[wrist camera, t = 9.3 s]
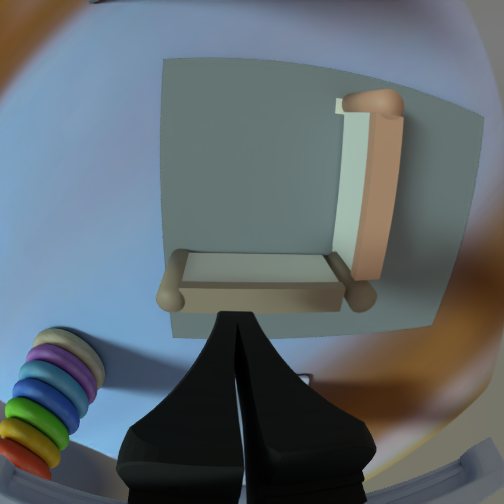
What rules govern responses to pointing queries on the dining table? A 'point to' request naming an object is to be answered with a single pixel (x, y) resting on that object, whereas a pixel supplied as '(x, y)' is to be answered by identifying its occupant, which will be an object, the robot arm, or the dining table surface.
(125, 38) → the dining table surface
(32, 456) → the stacking toy
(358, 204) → the hinged fence panel
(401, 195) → the mat
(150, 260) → the dining table surface
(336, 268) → the fence fixed
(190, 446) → the robot arm
